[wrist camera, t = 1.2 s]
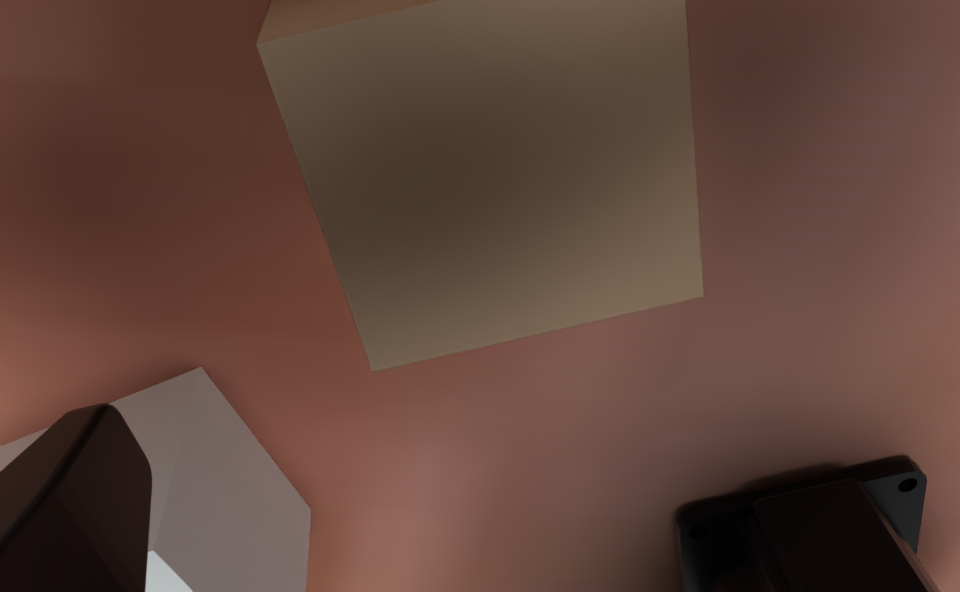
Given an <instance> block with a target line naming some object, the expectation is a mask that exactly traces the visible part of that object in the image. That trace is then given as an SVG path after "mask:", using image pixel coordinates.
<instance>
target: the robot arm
mask: <svg viewBox="0 0 960 592" xmlns="http://www.w3.org/2000/svg"><path fill="white" fill-rule="evenodd" d="M926 483H927V479H926V475H925V474H924V473H923V471H922V470H921V469H920V467H919V466H918V465H917V464H916V463H915V462H914V461H910V460H904V461H898V462H893V463H889V464H884V465H880V466H876V467H871V468H867V469H862V470H858V471H853V472H849V473H844V474H840V475H835V476H831V477H827V478H822V479H818V480H813V481H809V482H804V483H800V484H795V485H791V486H786V487H782V488H778V489H773V490H769V491H764V492H760V493H755V494H751V495H746V496H742V497H737V498H733V499H729V500H724V501H720V502H715V503H711V504H706V505H702V506H697V507H693V508H690V509H687V510H685V511H684V512H682V513H681V514H680V515H679V516H678V517H677V519H676V523H675V527H676V536H677V546H678V556H679V565H680V575H681V584H682V592H940V591H939V589H938V588H937V586H936V585H935V583H934V582H933V580H932V579H931V577H930V576H929V574H928V573H927V571H926V570H925V568H924V567H923V565H922V564H921V562H920V561H919V559H918V558H917V556H916V553H917V546H918V539H919V532H920V525H921V518H922V511H923V504H924V497H925V490H926ZM151 496H152V472H151V467H150V464H149V461H148V459H147V457H146V455H145V453H144V452H143V450H142V448H141V446H140V445H139V443H138V441H137V440H136V438H135V436H134V435H133V433H132V431H131V430H130V428H129V426H128V425H127V423H126V421H125V420H124V418H123V416H122V415H121V413H120V412H119V411H118V409H117V408H116V407H114V406H113V405H111V404H108V403H102V404H97V405H93V406H88V407H84V408H80V409H75V410H72V411H69V412H67V413H66V414H65V415H63V416H62V417H61V418H60V419H59V420H58V421H57V422H55V423H54V424H53V425H52V426H51V427H50V428H49V429H48V430H46V431H45V432H44V433H43V434H42V435H41V436H40V437H39V438H37V439H36V440H35V441H34V442H33V443H32V444H31V445H30V446H28V447H27V448H26V449H25V450H24V451H23V452H22V453H20V454H19V455H18V456H17V457H16V458H15V459H14V460H13V461H11V462H10V463H9V464H8V465H7V466H6V467H5V468H4V469H2V470H1V471H0V592H145V590H146V575H147V559H148V543H149V528H150V512H151Z"/></svg>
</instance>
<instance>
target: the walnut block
mask: <svg viewBox="0 0 960 592" xmlns="http://www.w3.org/2000/svg"><path fill="white" fill-rule="evenodd" d="M256 46H257V49H258V52H259V55H260V58H261V60H262V63H263V66H264V69H265V72H266V74H267V77H268V80H269V83H270V86H271V88H272V91H273V94H274V97H275V100H276V103H277V105H278V108H279V111H280V114H281V117H282V119H283V122H284V125H285V128H286V131H287V133H288V136H289V139H290V142H291V145H292V147H293V150H294V153H295V156H296V159H297V161H298V164H299V167H300V170H301V173H302V176H303V178H304V181H305V184H306V187H307V190H308V192H309V195H310V198H311V201H312V204H313V206H314V209H315V212H316V215H317V218H318V220H319V223H320V226H321V229H322V232H323V234H324V237H325V240H326V243H327V246H328V249H329V251H330V254H331V257H332V260H333V263H334V265H335V268H336V271H337V274H338V277H339V279H340V282H341V285H342V288H343V291H344V293H345V296H346V299H347V302H348V305H349V308H350V310H351V313H352V316H353V319H354V322H355V324H356V327H357V330H358V333H359V336H360V338H361V341H362V344H363V347H364V350H365V352H366V355H367V358H368V361H369V364H370V366H371V369H372V372H375V371H380V370H384V369H389V368H393V367H397V366H402V365H406V364H410V363H415V362H419V361H423V360H428V359H432V358H437V357H441V356H445V355H450V354H454V353H458V352H463V351H467V350H471V349H476V348H480V347H485V346H489V345H493V344H498V343H502V342H506V341H511V340H515V339H519V338H524V337H528V336H533V335H537V334H541V333H546V332H550V331H554V330H559V329H563V328H567V327H572V326H576V325H581V324H585V323H589V322H594V321H598V320H602V319H607V318H611V317H615V316H620V315H624V314H629V313H633V312H637V311H642V310H646V309H650V308H655V307H659V306H663V305H668V304H672V303H677V302H681V301H685V300H690V299H694V298H698V297H703V296H704V291H703V275H702V259H701V243H700V226H699V210H698V194H697V178H696V161H695V145H694V129H693V113H692V96H691V80H690V64H689V48H688V31H687V15H686V0H271V3H270V6H269V8H268V11H267V14H266V17H265V20H264V22H263V25H262V28H261V31H260V34H259V36H258V39H257V42H256Z"/></svg>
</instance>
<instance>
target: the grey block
mask: <svg viewBox="0 0 960 592" xmlns="http://www.w3.org/2000/svg"><path fill="white" fill-rule="evenodd" d="M108 404H111V405H113V406H114V407H116V408H117V409H118V411H119V412H120V413H121V415H122V416H123V418H124V420H125V421H126V423H127V425H128V426H129V428H130V430H131V431H132V433H133V435H134V436H135V438H136V440H137V441H138V443H139V445H140V446H141V448H142V450H143V452H144V453H145V455H146V457H147V459H148V461H149V464H150V467H151V472H152V496H151V512H150V528H149V543H148V559H147V575H146V590H145V592H306V579H307V565H308V552H309V538H310V524H311V509H310V507H309V506H308V505H307V504H306V502H305V501H304V500H303V498H302V497H301V496H300V494H299V493H298V492H297V491H296V489H295V488H294V487H293V485H292V484H291V483H290V481H289V480H288V479H287V478H286V476H285V475H284V474H283V472H282V471H281V470H280V468H279V467H278V466H277V465H276V463H275V462H274V461H273V459H272V458H271V457H270V455H269V454H268V453H267V452H266V450H265V449H264V448H263V446H262V445H261V444H260V442H259V441H258V440H257V439H256V437H255V436H254V435H253V433H252V432H251V431H250V429H249V428H248V427H247V426H246V424H245V423H244V422H243V420H242V419H241V418H240V416H239V415H238V414H237V413H236V411H235V410H234V409H233V407H232V406H231V405H230V404H229V402H228V401H227V400H226V398H225V397H224V396H223V394H222V393H221V392H220V391H219V389H218V388H217V387H216V385H215V384H214V383H213V381H212V380H211V379H210V378H209V376H208V375H207V374H206V372H205V371H204V370H203V368H202V367H199V368H196V369H194V370H191V371H189V372H186V373H184V374H181V375H179V376H176V377H174V378H171V379H169V380H166V381H164V382H161V383H159V384H156V385H154V386H151V387H148V388H146V389H143V390H141V391H138V392H136V393H133V394H131V395H128V396H126V397H123V398H121V399H118V400H116V401H113V402H111V403H108ZM50 427H51V426H50ZM50 427H48V428H45V429H42V430H40V431H37V432H35V433H32V434H30V435H27V436H25V437H22V438H20V439H17V440H15V441H12V442H10V443H7V444H5V445H2V446H0V471H1V470H2V469H4V468H5V467H6V466H7V465H8V464H9V463H10V462H11V461H13V460H14V459H15V458H16V457H17V456H18V455H19V454H20V453H22V452H23V451H24V450H25V449H26V448H27V447H28V446H30V445H31V444H32V443H33V442H34V441H35V440H36V439H37V438H39V437H40V436H41V435H42V434H43V433H44V432H45V431H46V430H48V429H49V428H50Z"/></svg>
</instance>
